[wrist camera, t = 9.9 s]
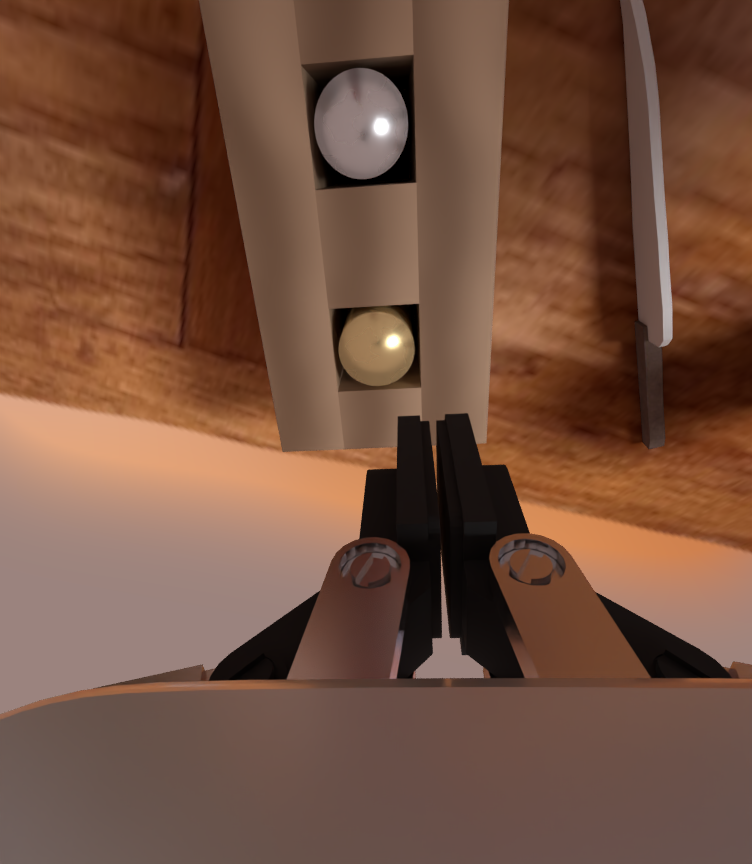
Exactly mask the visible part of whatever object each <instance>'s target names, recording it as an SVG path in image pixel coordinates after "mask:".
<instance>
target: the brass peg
mask: <svg viewBox="0 0 752 864" xmlns="http://www.w3.org/2000/svg"><path fill="white" fill-rule="evenodd" d="M414 352H415V347H414V339H413V331H412V323H411V316H410V308H409V304H404V305H387V306H370V307H353V308H349V311H348V314H347V318H346V321H345V324H344V327H343V331H342V334H341V337H340V341H339V358H340V361H341V363H342V365H343V367H344V369H345V370H346V372H347V373H348V374H349V375H350V376H351V377H352V378H354V379H355V380H357V381H359V382H361V383H363V384H366V385H371V386H383V385H388V384H391V383H393V382H395V381H397V380H398V379H400V378H401V377H402V376H403V375H405V373H406V372H407V371H408V370H409V368H410V366H411V364H412V362H413V359H414Z"/></svg>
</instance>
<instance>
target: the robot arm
mask: <svg viewBox="0 0 752 864" xmlns="http://www.w3.org/2000/svg"><path fill="white" fill-rule="evenodd" d="M436 452H437V488H436V479H435V469H434V460H433V451H432V442H431V433H430V423H429V421H420V415H416V416H398V427H397V469H373V470H367V475H366V485H365V493H364V502H363V511H362V520H361V529H360V538H359V539H358V540H355V541H352V542H350V543H348V544H347V545H345V546H343V547H342V548H341V549H340V550H339V551H338V552H337V553H336V554H335V556H334V558H333V559H332V561H331V564H330V566H329V569H328V572H327V574H326V577H325V580H324V582H323V585H322V588H321V590H320V591H319V592H317V593H316V594H314V595H313V596H312V597H310V598H309V599H307V600H306V601H304V602H303V603H302V604H300V605H299V606H298V607H296V608H294V609H293V610H292V611H290V612H289V613H287V614H286V615H284V616H283V617H282V618H280V619H279V620H277V621H276V622H274V623H273V624H272V625H270V626H269V627H267V628H266V629H264V630H263V631H262V632H260V633H259V634H257V635H256V636H255V637H253V638H252V639H250V640H249V641H248V642H246V643H245V644H243V645H242V646H240V647H239V648H237V649H236V650H234V651H233V652H232V653H230V654H229V655H228V656H227V657H226V658H225V659H223V661H221V662H220V663H219V664H218V666H217V667H216V668H215V669H210V670H206V671H205V669H204V667H203V665H198V666H193V667H189V668H184V669H180V670H175V671H170V672H166V673H162V674H157V675H153V676H148V677H143V678H139V679H134V680H130V681H125V682H120V683H116V684H112V685H107V686H102V687H98V688H93V689H88V690H81V691H76V692H72V693H68V694H64V695H60V696H55V697H51V698H47V699H43V700H39V701H37V702H34V703H31V704H28V705H25V706H22V707H20V708H17V709H14V710H11V711H8V712H5V713H2V714H0V864H752V665H750V664H745V663H740V662H732V665H731V667H730V668H726V667H722V666H721V665H720V664H719V663H718V662H717V661H716V660H715V659H713V658H712V657H710V656H709V655H707V654H706V653H704V652H703V651H701V650H700V649H698V648H696V647H695V646H693V645H691V644H689V643H687V642H685V641H683V640H682V639H680V638H678V637H676V636H675V635H673V634H671V633H669V632H667V631H665V630H664V629H662V628H660V627H658V626H656V625H654V624H653V623H651V622H649V621H647V620H645V619H644V618H642V617H640V616H638V615H636V614H635V613H633V612H631V611H629V610H627V609H625V608H624V607H622V606H620V605H618V604H616V603H614V602H612V601H611V600H609V599H607V598H606V597H604V596H602V595H600V594H598V593H596V592H595V591H594V590H593V588H592V587H591V585H590V584H589V582H588V581H587V579H586V577H585V576H584V574H583V573H582V571H581V570H580V568H579V567H578V565H577V564H576V562H575V561H574V559H573V558H572V556H571V555H570V554H569V553H568V551H566V549H565V548H564V547H563V546H561V545H560V544H558V543H557V542H555V541H554V540H551V539H549V538H546V537H544V536H541V535H535V534H530V532H529V530H528V527H527V524H526V521H525V518H524V516H523V512H522V509H521V507H520V504H519V501H518V498H517V495H516V492H515V489H514V486H513V484H512V481H511V478H510V475H509V472H508V469H507V467H506V465H482V463H481V459H480V456H479V452H478V448H477V444H476V441H475V437H474V433H473V430H472V426H471V422H470V418H469V415H468V413H460V414H445V418H444V420H436ZM441 556H442V566H443V576H444V584H445V595H446V605H447V615H448V624H449V633H450V638H460V644H461V652H462V655H469V656H470V657H471V658H473V659H474V660H475V661H476V662H478V663H479V664H480V665H481V666H483V674H484V678H446V679H445V678H444V679H443V678H438V679H437V678H433V679H432V678H431V679H416V669H417V668H418V667H419V666H420V665H421V664H422V663H423V662H425V661H426V660H427V659H428V658H429V657H430V656H431V655H432V653H433V647H432V638H442V621H441V620H442V615H441V614H442V613H441Z"/></svg>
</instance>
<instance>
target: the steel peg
mask: <svg viewBox="0 0 752 864" xmlns="http://www.w3.org/2000/svg"><path fill="white" fill-rule="evenodd" d="M314 127H315V135H316V140H317V143H318V146H319V148H320V151H321V152H322V154H323V156H324V158H325V159H326V160H327V162H328V163H329V164H330V165H331V166H332V167H333V168H334V169H335V170H336V171H338V172H340V173H341V174H343V175H345V176H347V177H350V178H355V179H369V178H373V177H376V176H379V175H381V174H383V173H385V172H386V171H388V170H389V169H390V168H391V167H392V166H393V165H394V164H395V163H396V161H397V160H398V158H399V156H400V155H401V153H402V151H403V148H404V146H405V143H406V139H407V133H408V115H407V110H406V106H405V103H404V100H403V98H402V96H401V94H400V92H399V90H398V89H397V87H396V86H395V85H394V84H393V83H392V82H391V81H390V80H389V79H388V78H387V77H386V76H384V75H383V74H381V73H379V72H377V71H375V70H372V69H367V68H354V69H350V70H347V71H344V72H342V73H340V74H339V75H337V76H336V77H334V78H333V79H332V80H331V81H330V82H329V83H328V84H327V86H326V87H325V88H324V90H323V92H322V93H321V95H320V98H319V100H318V103H317V106H316V111H315V119H314Z"/></svg>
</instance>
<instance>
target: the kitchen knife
mask: <svg viewBox="0 0 752 864" xmlns="http://www.w3.org/2000/svg"><path fill="white" fill-rule="evenodd" d="M620 4H621V11H622V19H623V31H624V50H625V69H626V88H627V107H628V126H629V145H630V168H631V194H632V223H633V239H634V255H635V270H636V286H637V302H638V317H639V320H638V321H635V335H636V350H637V365H638V379H639V394H640V409H641V423H642V438H643V443H644V444H645V445H646V446H647V448H648V449H652V448H656V447H661V446H664V443H665V423H664V405H663V365H662V346H666V345H668V344H669V343H670V341H671V340H672V297H671V284H670V270H669V249H668V233H667V220H666V207H665V193H664V177H663V161H662V144H661V125H660V107H659V96H658V86H657V77H656V67H655V61H654V55H653V50H652V44H651V39H650V33H649V27H648V22H647V16H646V12H645V8H644V4H643V0H620Z"/></svg>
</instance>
